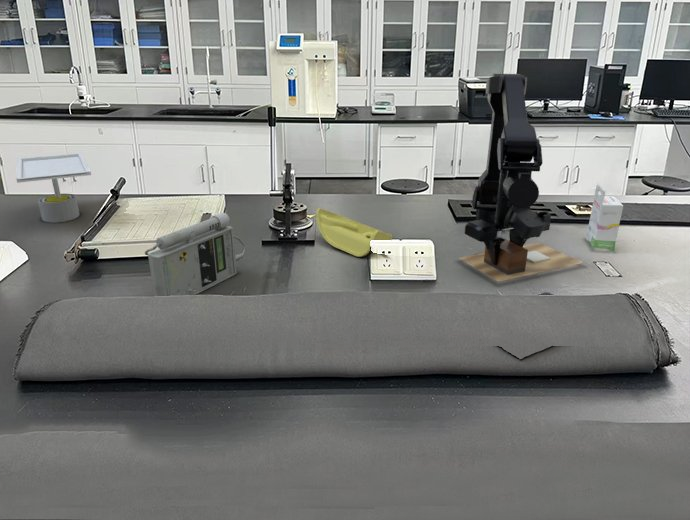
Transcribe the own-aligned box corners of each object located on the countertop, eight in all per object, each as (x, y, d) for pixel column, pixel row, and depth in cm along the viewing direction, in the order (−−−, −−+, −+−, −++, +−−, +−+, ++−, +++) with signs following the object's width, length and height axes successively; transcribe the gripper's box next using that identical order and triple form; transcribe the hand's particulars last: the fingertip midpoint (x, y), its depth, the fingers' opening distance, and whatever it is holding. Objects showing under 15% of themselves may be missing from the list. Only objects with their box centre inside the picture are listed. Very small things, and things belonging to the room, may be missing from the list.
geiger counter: (159, 242, 94) (252, 207, 114) (135, 235, 97) (230, 202, 117) (168, 311, 100) (256, 266, 119) (146, 303, 103) (235, 260, 122)
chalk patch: (518, 255, 123) (518, 253, 123) (534, 252, 125) (535, 250, 125) (533, 263, 119) (533, 261, 118) (550, 259, 121) (550, 257, 120)
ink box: (614, 252, 127) (627, 192, 121) (592, 251, 128) (604, 191, 122) (606, 240, 135) (617, 183, 129) (585, 239, 136) (595, 182, 130)
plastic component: (396, 236, 130) (374, 229, 122) (385, 265, 131) (363, 259, 123) (337, 214, 142) (313, 206, 134) (327, 240, 142) (304, 233, 134)
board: (457, 261, 122) (458, 257, 121) (538, 246, 131) (539, 242, 131) (497, 285, 110) (498, 281, 110) (583, 266, 119) (584, 262, 119)
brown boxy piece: (483, 261, 119) (485, 240, 117) (500, 258, 121) (503, 237, 119) (507, 275, 113) (510, 253, 111) (525, 271, 115) (528, 249, 113)
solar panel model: (100, 225, 145) (90, 171, 139) (28, 235, 137) (15, 179, 132) (91, 200, 167) (82, 152, 162) (29, 207, 160) (17, 158, 154)
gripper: (502, 210, 100) (493, 284, 106) (575, 198, 108) (563, 269, 114) (466, 195, 110) (460, 264, 116) (536, 185, 117) (526, 251, 123)
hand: (503, 262), depth 117 cm, fingers closed on brown boxy piece, 5 cm apart
